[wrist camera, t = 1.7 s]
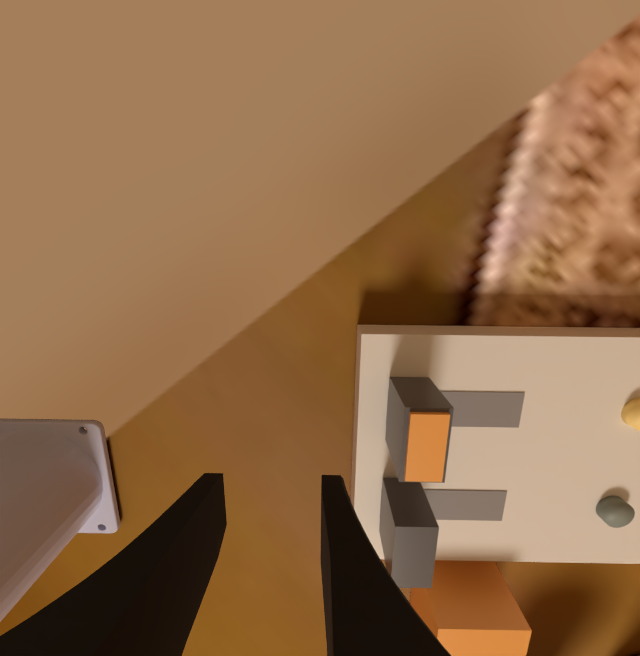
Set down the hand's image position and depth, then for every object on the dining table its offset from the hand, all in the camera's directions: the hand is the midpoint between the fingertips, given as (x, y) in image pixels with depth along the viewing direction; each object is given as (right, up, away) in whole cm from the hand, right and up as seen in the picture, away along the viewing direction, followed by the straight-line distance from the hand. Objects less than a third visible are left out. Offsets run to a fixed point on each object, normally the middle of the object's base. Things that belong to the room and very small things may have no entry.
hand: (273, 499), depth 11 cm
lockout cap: (+10, -13, +12) cm, 20 cm away
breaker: (+6, -4, +8) cm, 11 cm away
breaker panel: (+13, -1, +9) cm, 15 cm away
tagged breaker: (+6, +1, +6) cm, 9 cm away
